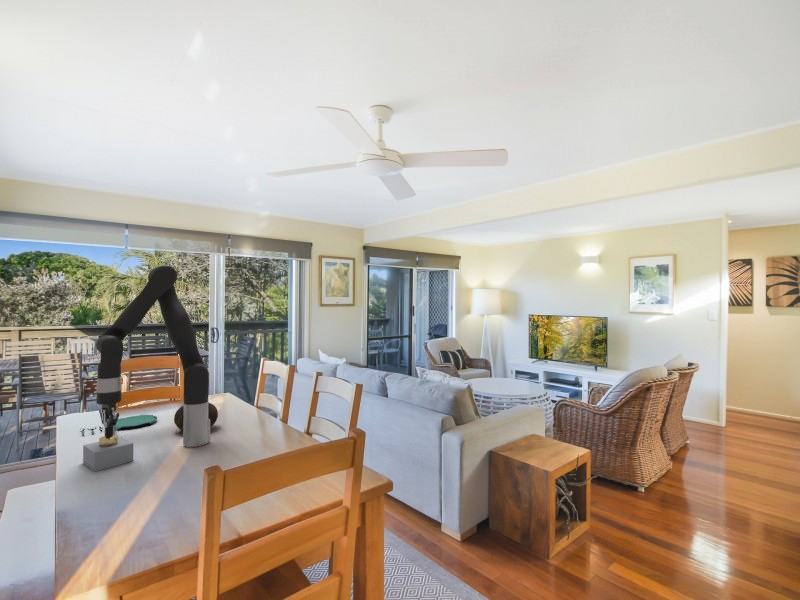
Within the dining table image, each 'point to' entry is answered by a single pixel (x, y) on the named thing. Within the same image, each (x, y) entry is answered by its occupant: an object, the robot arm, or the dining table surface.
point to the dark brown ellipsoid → (211, 415)
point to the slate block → (107, 454)
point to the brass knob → (108, 441)
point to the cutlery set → (132, 422)
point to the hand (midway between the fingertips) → (108, 436)
